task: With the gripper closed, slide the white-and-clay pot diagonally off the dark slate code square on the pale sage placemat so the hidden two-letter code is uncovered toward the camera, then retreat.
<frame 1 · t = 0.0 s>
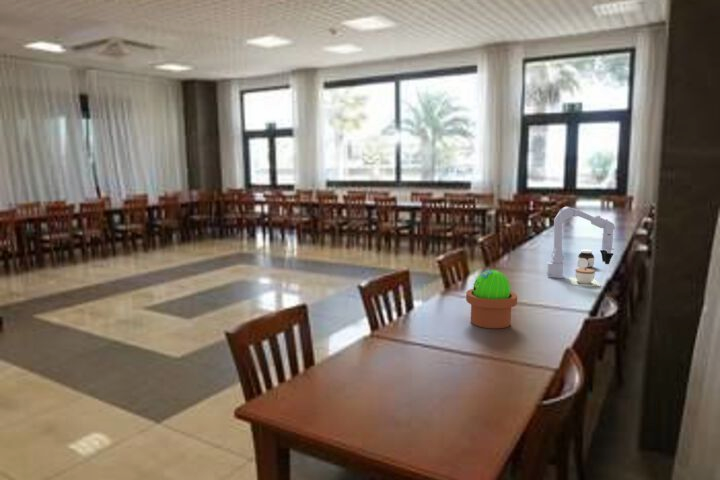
hand: (605, 262, 323), 10 cm above the table, fingers open, 7 cm apart
lidded jar: (584, 283, 314), resting on placemat
spread jar: (584, 267, 359), on the table
placemat: (584, 282, 317), on the table
potted cactus: (490, 323, 239), on the table
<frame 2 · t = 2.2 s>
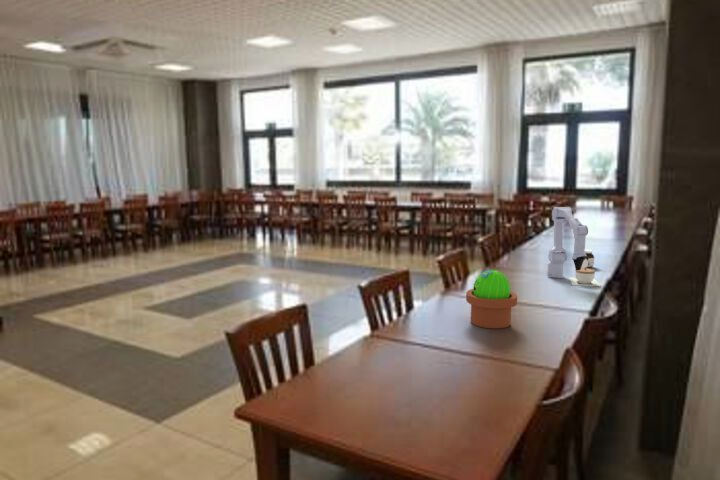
hand: (578, 269, 305), 10 cm above the table, fingers closed
nothing on the table moved.
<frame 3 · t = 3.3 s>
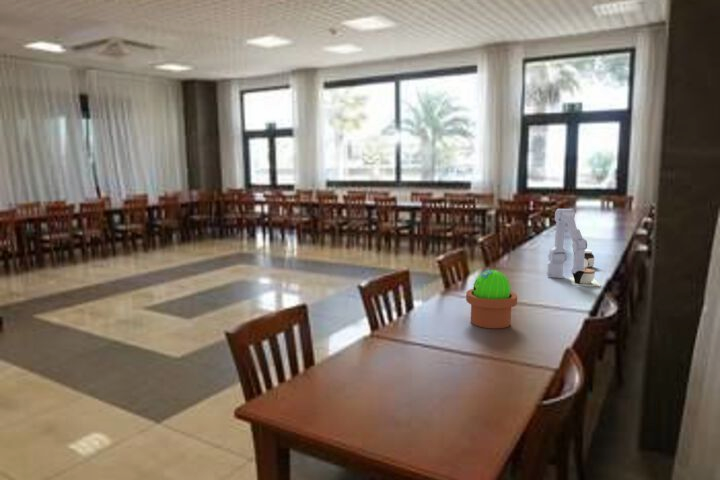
hand: (577, 283, 306), 2 cm above the table, fingers closed
nothing on the table moved.
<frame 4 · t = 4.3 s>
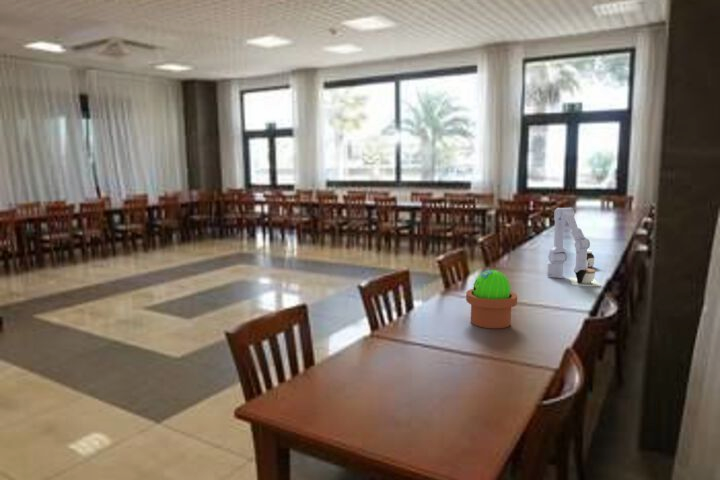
hand: (579, 282, 308), 2 cm above the table, fingers closed
lidded jar: (584, 282, 314), resting on placemat, touching gripper
everything else where it was.
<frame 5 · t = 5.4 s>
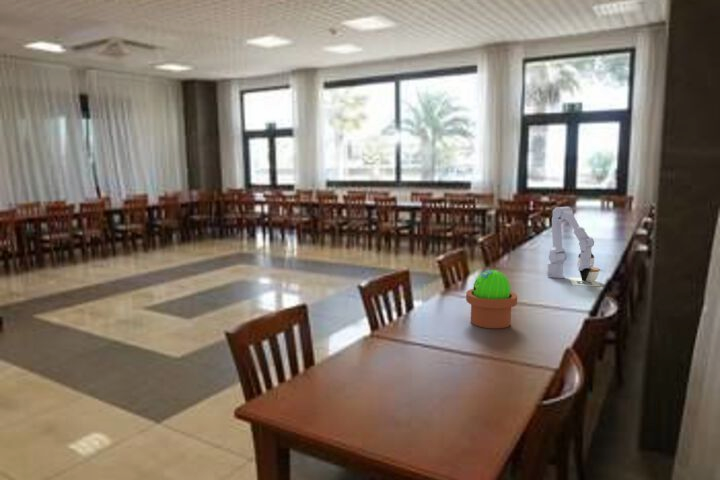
hand: (584, 280, 313), 2 cm above the table, fingers closed
lidded jar: (588, 281, 319), resting on placemat, touching gripper
everything else where it was.
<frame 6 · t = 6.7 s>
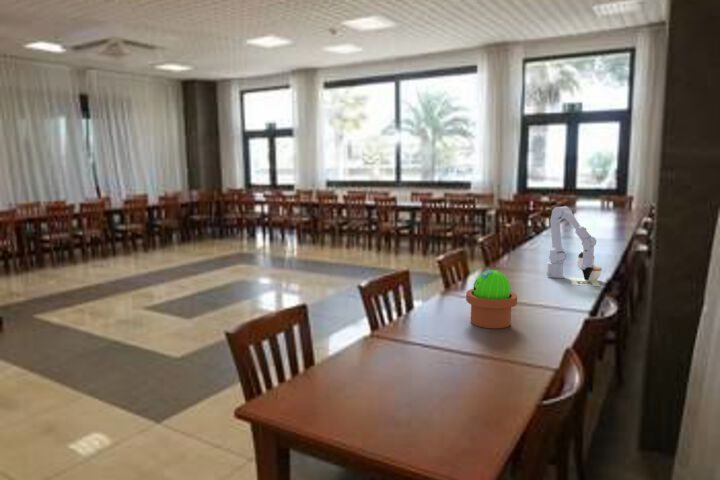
hand: (586, 279, 316), 2 cm above the table, fingers closed
lidded jar: (591, 280, 321), on the table, touching gripper, placemat
everything else where it was.
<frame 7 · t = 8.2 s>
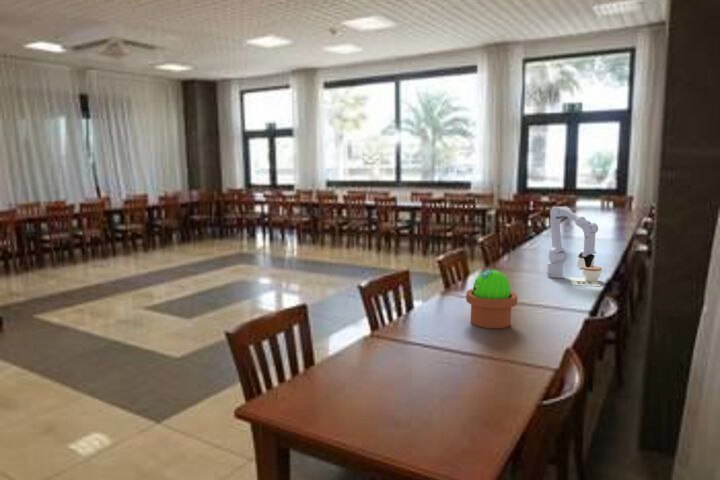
hand: (588, 267, 308), 11 cm above the table, fingers closed
lidded jar: (591, 280, 321), on the table, touching placemat
everything else where it was.
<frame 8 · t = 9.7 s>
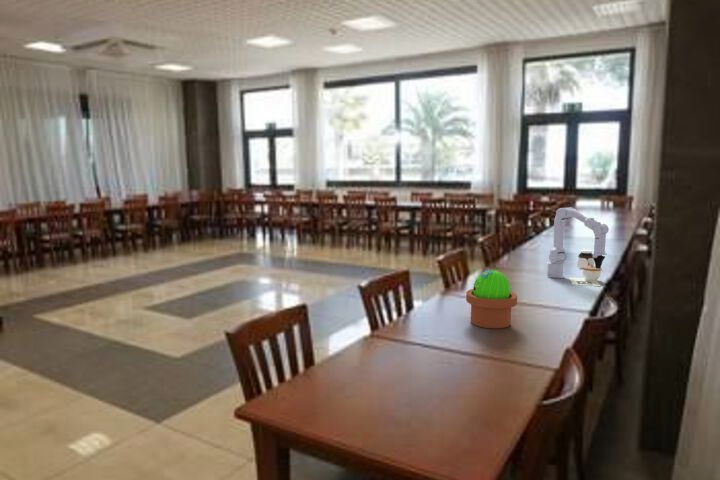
hand: (598, 268, 306), 10 cm above the table, fingers closed
nothing on the table moved.
at the end: lidded jar moved 10.5 cm from its start; lidded jar inside the target area (0.8 cm from its centre), on the table; lidded jar tilted 0° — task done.
